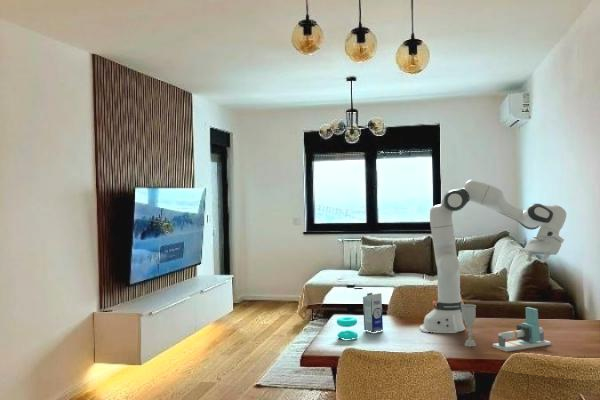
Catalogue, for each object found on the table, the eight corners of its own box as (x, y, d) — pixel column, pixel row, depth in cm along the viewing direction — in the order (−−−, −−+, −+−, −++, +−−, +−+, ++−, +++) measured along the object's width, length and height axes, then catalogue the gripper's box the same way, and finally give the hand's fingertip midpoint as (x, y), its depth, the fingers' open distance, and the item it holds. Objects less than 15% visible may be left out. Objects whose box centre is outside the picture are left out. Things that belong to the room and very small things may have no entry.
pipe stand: (506, 351, 238) (505, 335, 238) (492, 346, 247) (492, 330, 247) (550, 344, 246) (550, 328, 246) (536, 340, 255) (535, 324, 255)
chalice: (459, 343, 254) (458, 304, 254) (474, 342, 255) (472, 303, 255) (466, 347, 247) (464, 307, 247) (480, 346, 248) (479, 306, 248)
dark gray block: (526, 341, 244) (526, 327, 244) (517, 338, 249) (516, 324, 250) (529, 341, 244) (529, 327, 244) (519, 338, 250) (519, 324, 250)
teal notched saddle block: (532, 342, 244) (531, 310, 244) (521, 338, 251) (520, 307, 251) (539, 341, 245) (538, 309, 245) (528, 337, 252) (527, 306, 252)
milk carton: (373, 334, 279) (371, 294, 279) (364, 331, 284) (362, 293, 284) (383, 331, 283) (381, 292, 283) (374, 329, 288) (372, 291, 288)
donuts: (333, 319, 270) (341, 315, 279) (334, 340, 270) (342, 335, 279) (352, 321, 265) (360, 316, 274) (353, 342, 265) (360, 337, 274)
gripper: (527, 233, 277) (516, 257, 274) (556, 233, 257) (544, 258, 254) (537, 240, 278) (525, 264, 275) (566, 240, 258) (554, 265, 256)
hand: (535, 261), depth 265 cm, fingers open, 8 cm apart
